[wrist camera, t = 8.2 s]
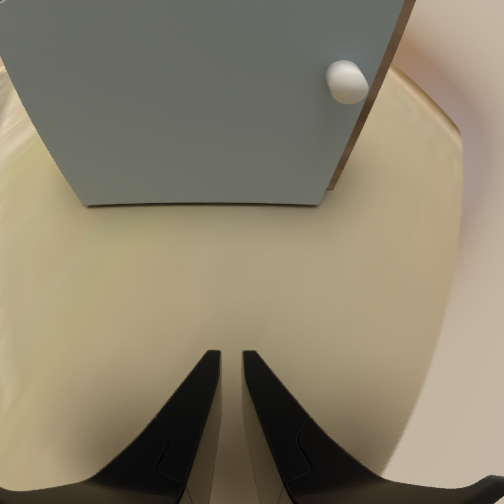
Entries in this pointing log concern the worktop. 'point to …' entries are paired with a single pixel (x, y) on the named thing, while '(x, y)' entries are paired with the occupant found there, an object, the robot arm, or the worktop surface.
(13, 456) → the worktop surface
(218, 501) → the worktop surface
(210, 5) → the door
